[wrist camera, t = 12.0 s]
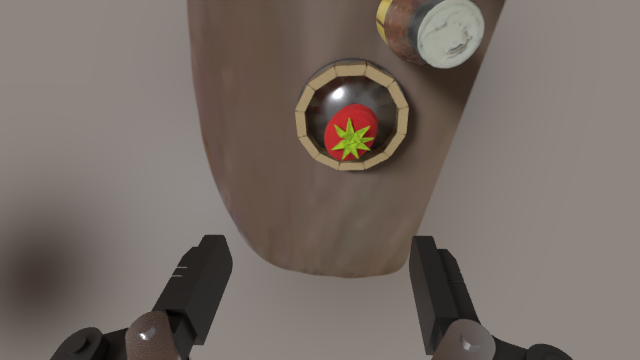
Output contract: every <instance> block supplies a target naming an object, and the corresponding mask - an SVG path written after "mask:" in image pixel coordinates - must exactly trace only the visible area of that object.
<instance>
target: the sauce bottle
mask: <svg viewBox="0 0 640 360" xmlns="http://www.w3.org/2000/svg"><path fill="white" fill-rule="evenodd" d="M376 22H377V28H378V31H379V34H380V36H381V38H382V39H383V40H384V41H385V42H386V44H387V45H388V46H389V47H390V49H391V50H392V51H393V52H394V53H395V54H396V55H398V56H399V57H401V58H402V59H403V60H406V61H408V62H410V63H415V64H418V65H424V64H428V65H430V66H432V67H435V68H438V69H448V68H452V67H456V66H459V65H461V64H462V63H464V62H465V61H466V60H467V59H469V58H470V57H471V56H472V55H473V54H474V53H475V51H476V50H477V48H478V47H479V45H480V43H481V40H482V38H483V36H484V30H485V24H484V18H483V15H482V13H481V10H480V8H479V7H478V6H477V5H476V4H475V3H473V2H472V1H470V0H382V1H381V3H380V5H379V8H378V11H377V18H376Z"/></svg>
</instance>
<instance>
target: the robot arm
mask: <svg viewBox="0 0 640 360" xmlns="http://www.w3.org/2000/svg"><path fill="white" fill-rule="evenodd" d="M232 264H233V262H232V257H231V254H230V251H229V248H228V245H227V242H226V239H225V237H224V235H205V236H204V237H203V238H202V240H201V242H200V244H199V246H198V247H192V248H191V249H190V250H189V251H188V252H187V253H186V254H185V255H184V256H183V257H182V259H181V261H180V262H179V264H178V266H177V268H176V269H175V271H174V273H173V274H172V277H171V278H170V280H169V282H168V283H167V285H166V287H165V288H164V290H163V292H162V293H161V295H160V297H159V299H158V301H157V302H156V304H155V306H154V308H153V309H152V311H150V312H147V313H145V314H143V315H141V316H140V317H138V318H137V319H136V320H135V321H134V322H133V323H132V324H131V325H130V327H128V328H125V329H121V330H118V331H114V332H111V333H107V334H102V332H101V331H100V330H99V329H97V328H95V327H89V328H84V329H81V330H79V331H78V332H75V333H74V334H72V335H71V336H70V337H68V338H67V339H66V340H65V341H64V342H63V343H62V344H61V345H60V346H59V348H58V349H57V351H56V352H55V353H54V355H53V356H52V358H51V359H50V360H192V359H191V356H190V351H191V348H192V346H193V345H204V342H205V340H206V337H207V335H208V332H209V329H210V327H211V324H212V322H213V319H214V316H215V314H216V311H217V309H218V306H219V303H220V301H221V298H222V295H223V293H224V290H225V287H226V285H227V282H228V280H229V277H230V275H231V272H232ZM409 272H410V278H411V283H412V288H413V293H414V298H415V303H416V308H417V312H418V318H419V323H420V327H421V332H422V337H423V342H424V346H425V351H426V355H433V357H432V359H431V360H573V359H572V358H571V357H569V356H568V355H567V354H566V353H564V352H563V351H561V350H560V349H558V348H556V347H553V346H551V345H547V344H535V345H533V346H531V347H530V348H529V349H525V348H521V347H518V346H515V345H512V344H509V343H506V342H504V341H501V340H499V339H497V338H496V337H494V336H493V335H491V334H490V333H489V331H488V330H487V329H486V328H485V327H483V326H482V325H481V323H480V321H479V320H478V317H477V315H476V312H475V310H474V307H473V304H472V301H471V298H470V296H469V293H468V291H467V288H466V285H465V283H464V280H463V277H462V274H461V273H460V269H459V267H458V264H457V261H456V259H455V258H454V257H453V256H452V255H451V253H450V252H449V251H448V250H447V249H437V248H436V244H435V241H434V238H433V237H432V236H413V238H412V244H411V251H410V259H409Z"/></svg>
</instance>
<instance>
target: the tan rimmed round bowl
mask: <svg viewBox="0 0 640 360" xmlns="http://www.w3.org/2000/svg"><path fill="white" fill-rule="evenodd" d="M351 104H362V105H365V106H367V107H369V108H370V109H371V110H372V111H373V112H374V113H375V115H376V117H377V121H378V129H377V134H376V137H375V140H374V142H373V144H372V145H371V147H370V148H369V149H370V150H367V151H366V152H365V153H364V154H363V155H362V156H360V157H359V159H358V158H356V159H353V160H349V161H340V160H337V159H335V158H333V157H332V156H331V155H330V154H329V153H328V151H327V149H326V146H325V142H324V134H325V130H326V127H327V125H328V123H329V121H330V120H331V118H332V117H333V116H334V115H335V114H336V113H337V112H338V111H340V110H341V109H342V108H344V107H345V106H348V105H351ZM408 111H409V107H408V104H407V102H406V100H405V96H404V93H403V91H402V89H401V86H400V85H399V83H398V82H397V80H396V79H395V78H394V76H393V75H392V74H391V73H390V72H389V71H387V70H386V69H385V68H383V67H382V66H380V65H378V64H376V63H374V62H371V61H368V60H363V59H342V60H339V61H335V62H332V63H330V64H328V65H326V66H324V67H322V68H321V69H320V70H318V71H317V72H316V73H315V74H314V75H313V76H312V77H311V78H310V79H309V80H308V82H307V83H306V84H305V86H304V88H303V90H302V92H301V95H300V97H299V101H298V104H297V107H296V109H295V115H296V124H297V133H298V137H299V140H300V141H301V142H302V144H303V145H304V146H305V148H306V149H307V150H308V152H309V153H310V154H311V156H312V157H313V158H315V160H317V161H319V162H321V163H324V164H326V165H328V166H330V167H332V168H334V169H336V170H337V169H338V168H339V170H364V167H365V169H368V168H370V167H372V166H374V165H376V164H378V163H380V162H382V161H384V160H386V159H388V158H389V156H391V155H392V154H393V152H394V151H395V150H396V148H397V147H398V145H399V144H400V143H401V141H402V140H403V139H404V137H405V136H406V135H405V134H406V131H407V121H408Z"/></svg>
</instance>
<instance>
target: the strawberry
mask: <svg viewBox="0 0 640 360" xmlns="http://www.w3.org/2000/svg"><path fill="white" fill-rule="evenodd" d="M377 129H378V121H377V117H376V115H375V113H374V112H373V111H372V110H371V109H370V108H369V107H367V106H365V105H362V104H351V105H348V106H345V107H344V108H342V109H341V110H340V111H338V112H337V113H336V114H335V115H334V116H333V117H332V118H331V120H330V121H329V123H328V125H327V127H326V130H325V134H324V142H325V146H326V149H327V151H328V153H329V154H330V155H331V156H332V157H333V158H335V159H337V160H340V161H349V160H353V159H356V158H358V159H359V157H360V156H362V155H363V154H364V153H365V152H366V151H367V150H370V149H369V148H370V147H371V145H372V144H373V142H374V140H375V137H376V134H377Z"/></svg>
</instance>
